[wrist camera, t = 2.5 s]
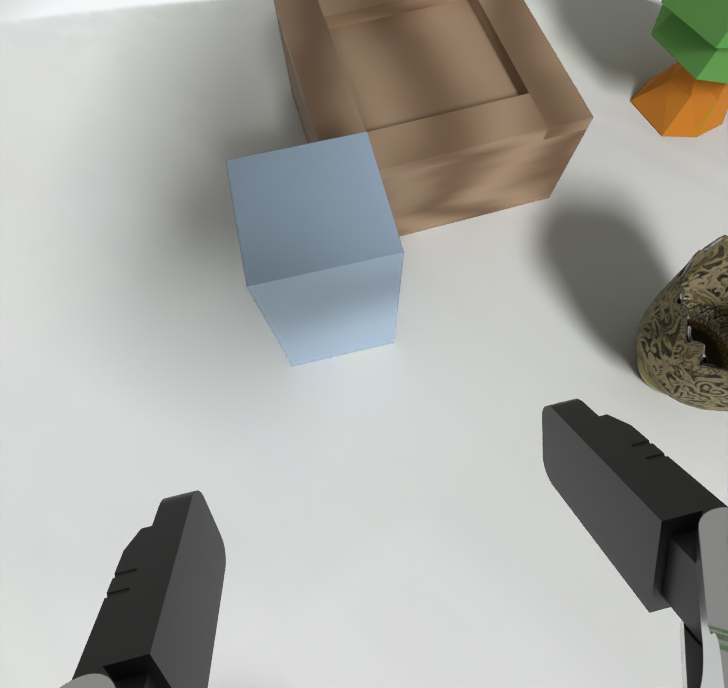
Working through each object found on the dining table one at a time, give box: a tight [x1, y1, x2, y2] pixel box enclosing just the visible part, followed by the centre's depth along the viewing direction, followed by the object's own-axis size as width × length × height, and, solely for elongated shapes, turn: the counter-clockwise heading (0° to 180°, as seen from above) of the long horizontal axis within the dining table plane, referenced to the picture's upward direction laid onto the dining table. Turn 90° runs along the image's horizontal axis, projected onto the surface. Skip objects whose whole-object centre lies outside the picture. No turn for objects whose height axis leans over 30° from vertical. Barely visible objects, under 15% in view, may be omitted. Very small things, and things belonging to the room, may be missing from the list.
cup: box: [636, 235, 728, 411], centre depth 22 cm, size 8×7×8 cm
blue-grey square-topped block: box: [226, 132, 404, 366], centre depth 23 cm, size 6×6×10 cm
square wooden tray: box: [274, 0, 593, 236], centre depth 29 cm, size 14×14×7 cm
